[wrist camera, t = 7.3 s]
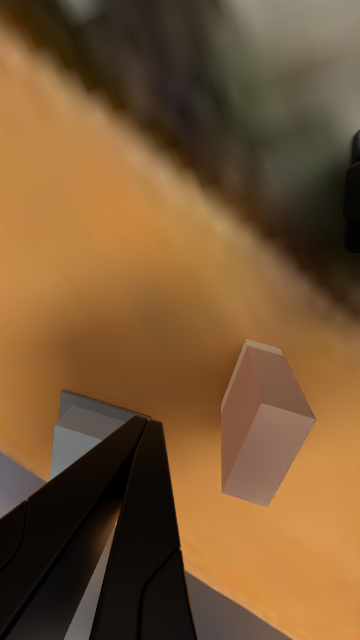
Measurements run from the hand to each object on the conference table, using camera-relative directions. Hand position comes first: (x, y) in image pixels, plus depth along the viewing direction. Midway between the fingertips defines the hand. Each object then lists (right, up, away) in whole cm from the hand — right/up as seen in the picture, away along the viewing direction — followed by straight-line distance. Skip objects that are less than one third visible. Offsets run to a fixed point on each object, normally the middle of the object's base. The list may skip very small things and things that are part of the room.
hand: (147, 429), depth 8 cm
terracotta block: (+6, -1, +12) cm, 14 cm away
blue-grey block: (-2, -9, +14) cm, 17 cm away
